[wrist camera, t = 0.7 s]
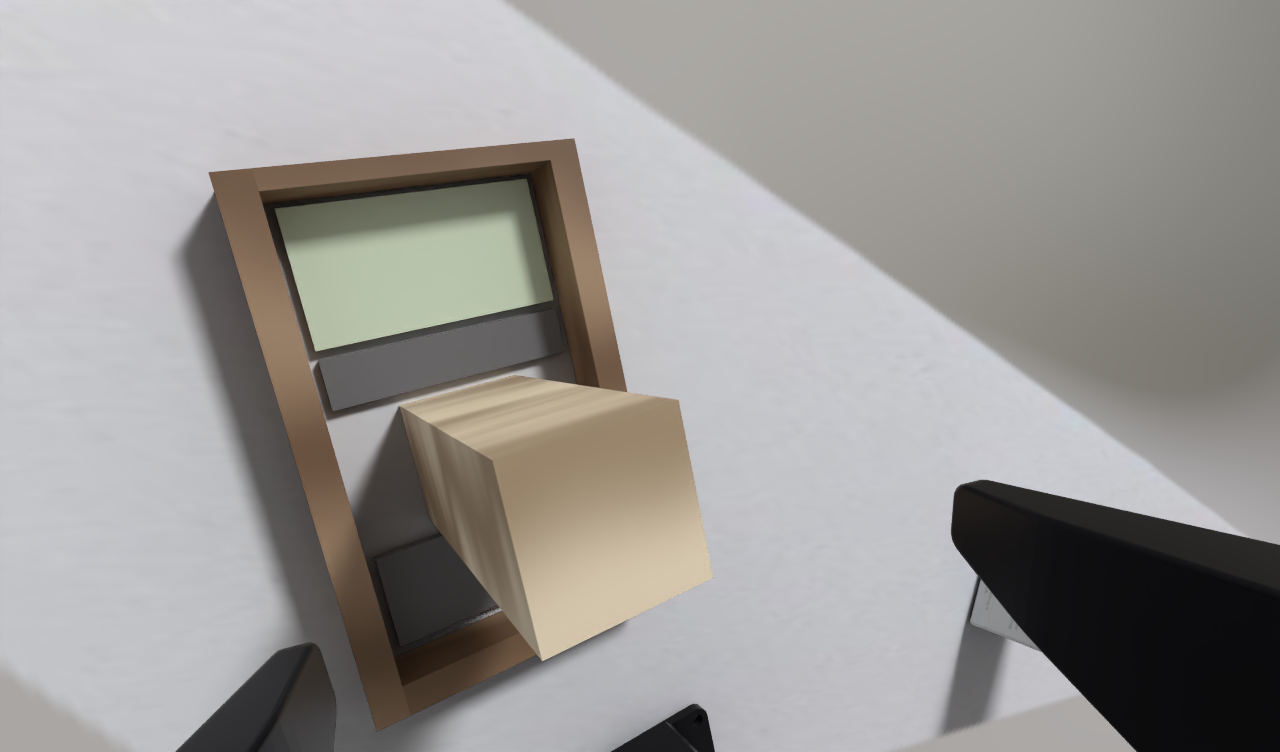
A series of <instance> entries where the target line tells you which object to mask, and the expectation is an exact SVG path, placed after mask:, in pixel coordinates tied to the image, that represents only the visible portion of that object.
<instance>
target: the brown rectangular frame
mask: <svg viewBox="0 0 1280 752" xmlns="http://www.w3.org/2000/svg"><path fill="white" fill-rule="evenodd" d="M524 174H531V178H532V183H533V187H534V192H535V196H536V201H537V205H538V210H539V214H540V219H541V223H542V228H543V232H544V237H545V241H546V246H547V250H548V255H549V259H550V264H551V268H552V273H553V277H554V282H555V286H556V291H557V295H558V300H559V305H560V309H561V314H562V318H563V323H564V327H565V332H566V336H567V341H568V345H569V350H570V354H571V359H572V363H573V368H574V372H575V377H576V381H577V385H583V386H589V387H596V388H602V389H609V390H615V391H622V392H627V388H626V384H625V379H624V374H623V369H622V364H621V360H620V355H619V350H618V345H617V340H616V336H615V331H614V326H613V321H612V317H611V312H610V307H609V302H608V297H607V293H606V288H605V283H604V278H603V274H602V269H601V264H600V259H599V254H598V250H597V245H596V240H595V235H594V230H593V226H592V221H591V216H590V211H589V207H588V202H587V197H586V192H585V187H584V183H583V178H582V173H581V168H580V164H579V159H578V154H577V149H576V144H575V140H574V139H564V140H553V141H542V142H531V143H520V144H510V145H499V146H488V147H477V148H466V149H456V150H445V151H434V152H423V153H412V154H402V155H391V156H380V157H369V158H359V159H348V160H337V161H326V162H315V163H305V164H294V165H283V166H272V167H261V168H251V169H240V170H229V171H218V172H209V176H210V179H211V182H212V186H213V189H214V192H215V196H216V199H217V202H218V205H219V209H220V212H221V215H222V219H223V222H224V225H225V229H226V232H227V235H228V239H229V242H230V245H231V249H232V252H233V255H234V259H235V262H236V265H237V269H238V272H239V275H240V279H241V282H242V285H243V289H244V292H245V295H246V299H247V302H248V305H249V309H250V312H251V315H252V318H253V322H254V325H255V328H256V332H257V335H258V338H259V342H260V345H261V348H262V352H263V355H264V358H265V362H266V365H267V368H268V372H269V375H270V378H271V382H272V385H273V388H274V392H275V395H276V398H277V402H278V405H279V408H280V412H281V415H282V418H283V422H284V425H285V428H286V432H287V435H288V438H289V441H290V445H291V448H292V451H293V455H294V458H295V461H296V465H297V468H298V471H299V475H300V478H301V481H302V485H303V488H304V491H305V495H306V498H307V501H308V505H309V508H310V511H311V515H312V518H313V521H314V525H315V528H316V531H317V535H318V538H319V541H320V545H321V548H322V551H323V554H324V558H325V561H326V564H327V568H328V571H329V574H330V578H331V581H332V584H333V588H334V591H335V594H336V598H337V601H338V604H339V608H340V611H341V614H342V618H343V621H344V624H345V628H346V631H347V634H348V638H349V641H350V644H351V648H352V651H353V654H354V658H355V661H356V664H357V668H358V671H359V674H360V677H361V681H362V684H363V687H364V691H365V694H366V697H367V701H368V704H369V707H370V711H371V714H372V717H373V721H374V724H375V727H376V731H377V732H378V731H380V730H382V729H384V728H386V727H388V726H390V725H392V724H394V723H396V722H398V721H400V720H402V719H405V718H407V717H409V716H411V715H413V714H415V713H417V712H419V711H421V710H423V709H425V708H427V707H429V706H431V705H434V704H436V703H438V702H440V701H442V700H444V699H446V698H448V697H450V696H452V695H454V694H456V693H458V692H461V691H463V690H465V689H467V688H469V687H471V686H473V685H475V684H477V683H479V682H481V681H483V680H485V679H488V678H490V677H492V676H494V675H496V674H498V673H500V672H502V671H504V670H506V669H508V668H510V667H512V666H514V665H517V664H519V663H521V662H523V661H525V660H527V659H529V658H531V657H533V656H535V655H537V654H536V653H535V652H534V650H533V649H532V648H531V646H530V645H529V644H528V643H527V641H526V640H525V639H524V638H523V636H522V635H521V634H520V633H519V631H518V630H517V629H516V627H515V626H514V625H513V624H512V622H511V621H510V620H509V619H508V617H507V616H506V615H505V614H504V612H503V611H500V612H498V613H495V614H493V615H491V616H488V617H486V618H484V619H482V620H479V621H477V622H475V623H472V624H470V625H468V626H466V627H463V628H461V629H459V630H456V631H454V632H452V633H450V634H447V635H445V636H443V637H440V638H438V639H436V640H433V641H431V642H429V643H427V644H424V645H422V646H420V647H417V648H415V649H413V650H411V651H408V652H406V653H404V654H401V655H399V656H397V657H395V658H394V656H393V653H392V649H391V646H390V642H389V639H388V635H387V632H386V628H385V625H384V622H383V618H382V615H381V611H380V608H379V604H378V601H377V597H376V594H375V591H374V587H373V584H372V580H371V577H370V573H369V570H368V566H367V563H366V559H365V556H364V553H363V549H362V546H361V542H360V539H359V535H358V532H357V528H356V525H355V522H354V518H353V515H352V511H351V508H350V504H349V501H348V497H347V494H346V490H345V487H344V484H343V480H342V477H341V473H340V470H339V466H338V463H337V459H336V456H335V453H334V449H333V446H332V442H331V439H330V435H329V432H328V428H327V425H326V421H325V418H324V415H323V411H322V408H321V404H320V401H319V397H318V394H317V390H316V387H315V384H314V380H313V377H312V373H311V370H310V366H309V363H308V359H307V356H306V352H305V349H304V346H303V342H302V339H301V335H300V332H299V328H298V325H297V321H296V318H295V315H294V311H293V308H292V304H291V301H290V297H289V294H288V290H287V287H286V283H285V280H284V277H283V273H282V270H281V266H280V263H279V259H278V256H277V252H276V249H275V245H274V242H273V239H272V235H271V232H270V228H269V225H268V221H267V218H266V214H265V211H264V208H263V205H266V204H275V203H283V202H292V201H301V200H309V199H318V198H326V197H335V196H344V195H352V194H361V193H369V192H378V191H387V190H395V189H404V188H413V187H421V186H430V185H438V184H447V183H456V182H464V181H473V180H481V179H490V178H499V177H507V176H516V175H524Z"/></svg>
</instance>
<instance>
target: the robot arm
mask: <svg viewBox="0 0 1280 752" xmlns="http://www.w3.org/2000/svg"><path fill="white" fill-rule="evenodd" d="M951 536H952V540H953V543H954V545H955V547H956V548H957V550H958V551H959V552H960V554H961V555H962V556H963V557H964V559H965V560H966V561H967V562H968V564H969V565H970V566H971V568H972V569H973V570H974V571H975V573H976V574H977V575H978V576H979V578H980V579H981V580H982V581H983V583H984V584H985V585H986V586H987V588H988V589H989V590H990V591H991V593H992V594H993V595H994V596H995V598H996V599H997V600H998V601H999V603H1000V604H1001V605H1002V606H1003V608H1004V609H1005V610H1006V611H1007V613H1008V614H1009V615H1010V616H1011V618H1012V619H1013V620H1014V621H1015V622H1016V624H1017V625H1018V626H1019V627H1020V628H1021V630H1022V631H1023V632H1024V633H1025V634H1026V635H1027V636H1028V638H1029V639H1030V640H1031V641H1032V642H1033V643H1034V644H1035V645H1036V646H1037V647H1038V648H1039V649H1040V651H1041V652H1042V653H1043V654H1044V655H1045V656H1046V657H1047V658H1048V659H1049V660H1050V661H1051V662H1052V663H1053V664H1054V665H1055V666H1056V667H1057V668H1058V669H1059V671H1060V672H1061V673H1062V674H1063V675H1064V676H1065V677H1066V678H1067V679H1068V680H1069V681H1070V682H1071V683H1072V684H1073V685H1074V686H1075V687H1076V688H1077V689H1078V690H1079V692H1080V693H1081V694H1082V695H1083V696H1084V697H1085V698H1086V699H1087V700H1088V701H1089V702H1090V703H1091V704H1092V705H1093V706H1094V707H1095V708H1096V709H1097V710H1098V711H1099V713H1100V714H1101V715H1102V716H1103V717H1104V718H1105V719H1106V720H1107V721H1108V722H1109V723H1110V724H1111V725H1112V726H1113V727H1114V728H1115V729H1116V730H1117V731H1118V732H1119V734H1120V735H1121V736H1122V737H1123V738H1125V740H1126V741H1127V742H1128V743H1129V744H1130V745H1131V746H1132V747H1133V748H1134V749H1135V750H1136V751H1137V752H1280V545H1277V544H1272V543H1268V542H1264V541H1259V540H1255V539H1250V538H1246V537H1241V536H1237V535H1232V534H1228V533H1223V532H1219V531H1214V530H1210V529H1205V528H1201V527H1196V526H1192V525H1187V524H1183V523H1178V522H1174V521H1169V520H1165V519H1160V518H1156V517H1151V516H1147V515H1142V514H1138V513H1133V512H1129V511H1124V510H1120V509H1115V508H1111V507H1106V506H1102V505H1097V504H1093V503H1088V502H1084V501H1079V500H1075V499H1070V498H1066V497H1061V496H1057V495H1052V494H1048V493H1043V492H1039V491H1034V490H1030V489H1025V488H1021V487H1016V486H1012V485H1007V484H1003V483H998V482H994V481H989V480H977V481H973V482H969V483H965V484H961V485H960V486H958V487H957V489H956V490H955V492H954V499H953V512H952V524H951ZM696 715H697V717H696V719H695V720H694V721H693V718H694V717H695V716H696ZM335 725H336V699H335V694H334V691H333V688H332V685H331V682H330V678H329V675H328V672H327V669H326V666H325V663H324V660H323V657H322V654H321V651H320V649H319V648H318V646H317V645H316V644H314V643H306V644H302V645H298V646H293V647H289V648H285V649H282V650H279V651H277V652H276V653H275V654H274V655H273V656H272V657H271V658H270V659H269V660H268V661H266V662H265V663H264V664H263V665H262V666H261V667H260V668H259V669H258V670H257V671H256V672H255V673H254V674H253V675H252V676H251V677H250V678H249V679H248V680H247V681H246V682H245V683H244V684H243V685H242V686H241V687H240V688H239V689H238V690H237V691H236V692H235V693H234V694H233V695H232V696H231V697H230V698H229V699H228V700H227V701H226V702H225V703H224V704H223V705H222V706H221V707H220V708H219V709H218V710H217V711H216V712H215V713H214V714H213V715H212V716H211V717H210V718H209V719H208V720H207V721H206V722H205V723H204V724H203V725H202V726H201V727H200V728H199V729H198V730H197V731H196V732H195V733H194V734H193V735H192V736H191V737H190V738H189V739H188V740H187V741H186V742H185V743H184V744H183V745H182V746H181V747H180V748H179V749H178V750H177V751H176V752H333V750H334V738H335ZM611 752H715V750H714V745H713V740H712V735H711V731H710V726H709V721H708V716H707V713H706V711H705V710H704V709H703V708H702V707H700V706H699V705H698V704H692V705H690V706H688V707H686V708H685V709H683V710H681V711H679V712H678V713H676V714H674V715H673V716H671V717H669V718H668V719H666V720H664V721H662V722H661V723H659V724H657V725H656V726H654V727H652V728H651V729H649V730H647V731H645V732H644V733H642V734H640V735H639V736H637V737H635V738H634V739H632V740H630V741H628V742H627V743H625V744H623V745H622V746H620V747H618V748H617V749H615V750H613V751H611Z"/></svg>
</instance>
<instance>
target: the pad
mask: <svg viewBox="0 0 1280 752" xmlns="http://www.w3.org/2000/svg"><path fill="white" fill-rule="evenodd" d="M275 213H276V216H277V220H278V223H279V227H280V230H281V234H282V237H283V241H284V244H285V248H286V251H287V255H288V258H289V262H290V265H291V269H292V272H293V276H294V279H295V282H296V286H297V289H298V293H299V296H300V300H301V303H302V307H303V310H304V314H305V317H306V321H307V324H308V328H309V331H310V335H311V338H312V342H313V345H314V349H315V351H320V350H324V349H329V348H334V347H338V346H343V345H348V344H352V343H357V342H362V341H366V340H371V339H375V338H380V337H385V336H389V335H394V334H399V333H403V332H408V331H413V330H417V329H422V328H427V327H431V326H436V325H440V324H445V323H450V322H454V321H459V320H464V319H468V318H473V317H478V316H482V315H487V314H492V313H496V312H501V311H505V310H510V309H515V308H519V307H524V306H529V305H533V304H538V303H543V302H547V301H552V300H554V299H553V295H552V290H551V286H550V281H549V277H548V272H547V268H546V263H545V259H544V254H543V250H542V245H541V241H540V236H539V232H538V227H537V223H536V218H535V214H534V209H533V205H532V200H531V196H530V191H529V187H528V183H527V179H519V180H511V181H502V182H494V183H486V184H477V185H469V186H460V187H452V188H444V189H435V190H427V191H419V192H410V193H402V194H394V195H385V196H377V197H368V198H360V199H352V200H343V201H335V202H327V203H318V204H310V205H301V206H293V207H285V208H276V209H275Z"/></svg>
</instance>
